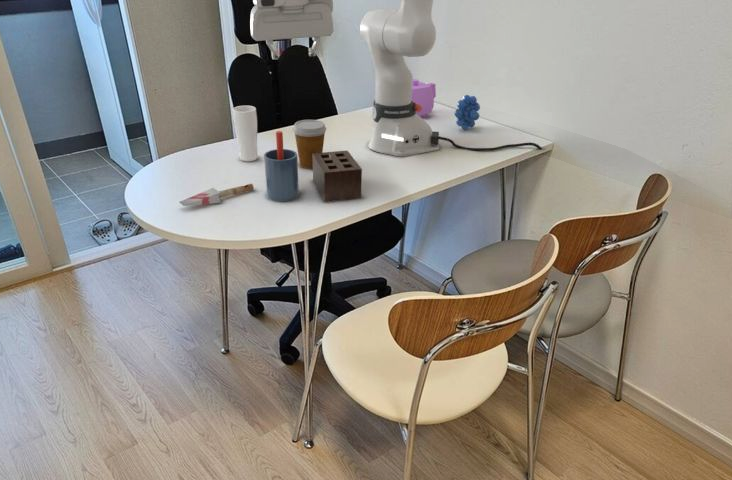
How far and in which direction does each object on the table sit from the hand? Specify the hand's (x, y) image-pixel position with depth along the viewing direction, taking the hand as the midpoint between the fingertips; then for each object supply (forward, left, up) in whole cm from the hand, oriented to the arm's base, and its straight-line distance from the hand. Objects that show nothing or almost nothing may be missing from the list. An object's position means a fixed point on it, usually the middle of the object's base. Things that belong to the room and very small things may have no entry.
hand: (294, 57), depth 139 cm
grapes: (-64, -25, -32) cm, 76 cm away
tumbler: (+7, +12, -32) cm, 34 cm away
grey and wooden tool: (+23, +11, -32) cm, 41 cm away
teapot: (-51, -45, -32) cm, 76 cm away
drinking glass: (+12, -16, -32) cm, 37 cm away
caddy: (-8, +12, -32) cm, 35 cm away
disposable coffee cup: (-5, -7, -32) cm, 33 cm away
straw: (+7, +12, -31) cm, 34 cm away
